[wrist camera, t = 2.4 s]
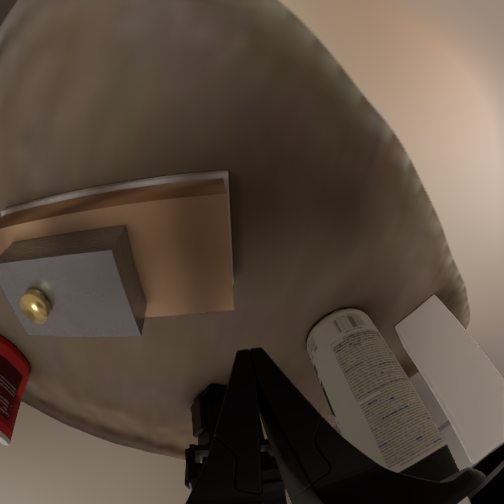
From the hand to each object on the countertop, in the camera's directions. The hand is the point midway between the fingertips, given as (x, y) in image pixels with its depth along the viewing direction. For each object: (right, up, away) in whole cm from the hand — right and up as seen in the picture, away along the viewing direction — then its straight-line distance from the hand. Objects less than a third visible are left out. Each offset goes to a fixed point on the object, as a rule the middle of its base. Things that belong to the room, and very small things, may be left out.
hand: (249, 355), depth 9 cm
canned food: (-29, -9, +11) cm, 32 cm away
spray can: (+8, -4, +15) cm, 18 cm away
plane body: (-9, +4, +7) cm, 13 cm away
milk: (+20, -5, +18) cm, 27 cm away
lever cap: (-10, +2, +4) cm, 11 cm away
